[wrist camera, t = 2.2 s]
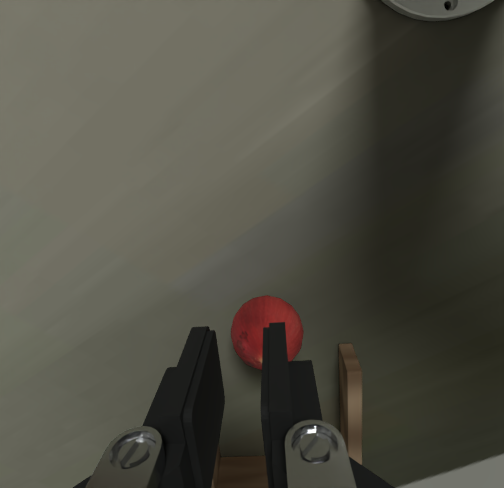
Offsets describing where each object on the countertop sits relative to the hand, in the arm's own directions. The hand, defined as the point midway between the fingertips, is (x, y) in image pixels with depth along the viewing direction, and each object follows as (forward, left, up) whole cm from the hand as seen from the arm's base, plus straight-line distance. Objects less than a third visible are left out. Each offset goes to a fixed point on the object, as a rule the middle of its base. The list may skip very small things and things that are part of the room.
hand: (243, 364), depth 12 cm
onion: (+9, 0, -19) cm, 21 cm away
